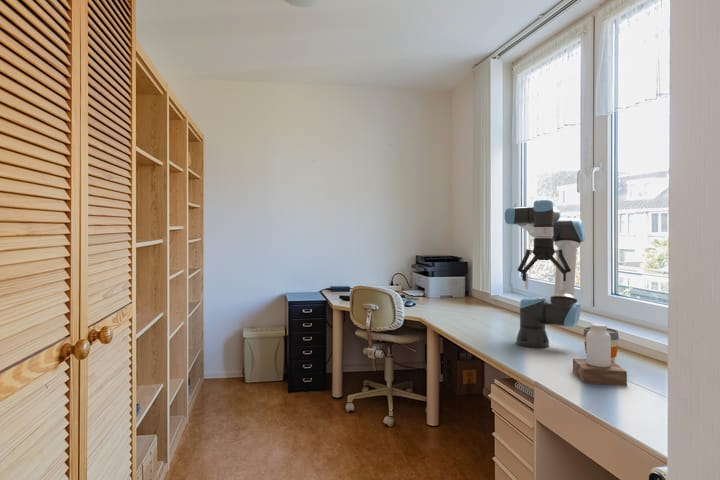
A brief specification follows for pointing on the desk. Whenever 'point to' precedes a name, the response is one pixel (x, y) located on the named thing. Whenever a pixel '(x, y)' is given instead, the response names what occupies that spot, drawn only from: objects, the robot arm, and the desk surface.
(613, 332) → the reusable coffee cup
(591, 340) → the pill bottle
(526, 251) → the robot arm
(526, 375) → the desk surface
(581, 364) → the walnut base
